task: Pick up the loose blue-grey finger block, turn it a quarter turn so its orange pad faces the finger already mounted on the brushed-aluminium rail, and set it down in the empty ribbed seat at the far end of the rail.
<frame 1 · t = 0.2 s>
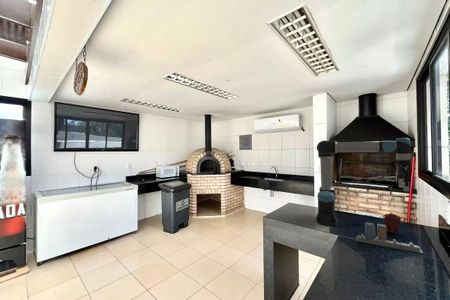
hand: (403, 189, 137), 28 cm above the counter, fingers open, 13 cm apart
mechanical component: (392, 232, 131), on the counter
finger: (382, 239, 121), on the counter
rail: (386, 245, 114), on the counter
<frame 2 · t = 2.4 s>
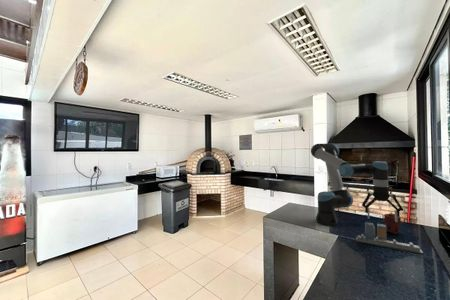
hand: (382, 219, 121), 13 cm above the counter, fingers open, 13 cm apart
nothing on the counter moved.
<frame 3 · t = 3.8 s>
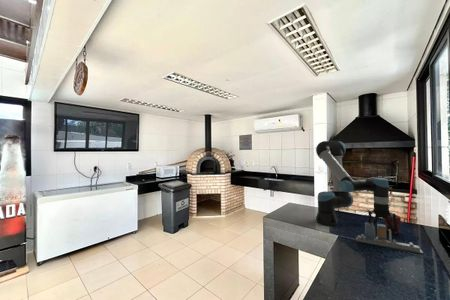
hand: (382, 239, 121), 0 cm above the counter, fingers open, 7 cm apart
nothing on the counter moved.
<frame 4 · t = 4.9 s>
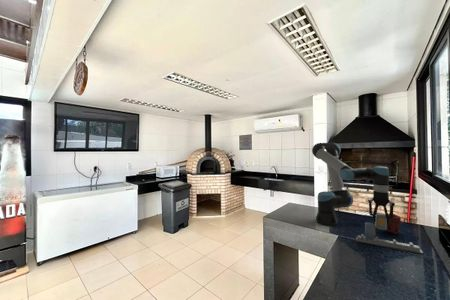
hand: (380, 227, 122), 7 cm above the counter, fingers closed on finger, 4 cm apart
finger: (380, 228, 122), point 7 cm above the counter, touching gripper
everything else where it was.
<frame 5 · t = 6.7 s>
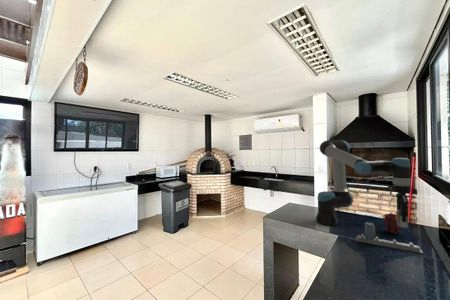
hand: (402, 225, 110), 13 cm above the counter, fingers closed on finger, 4 cm apart
finger: (402, 226, 110), point 13 cm above the counter, touching gripper
everything else where it was.
when the fingers open (3 cm above the counter, at t = 8.6 s): finger stays where it is, resting on rail.
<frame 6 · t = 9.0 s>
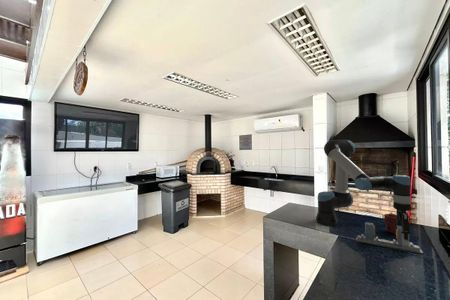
hand: (402, 240, 110), 4 cm above the counter, fingers open, 10 cm apart
finger: (402, 244, 110), point 2 cm above the counter, touching rail
everything else where it was.
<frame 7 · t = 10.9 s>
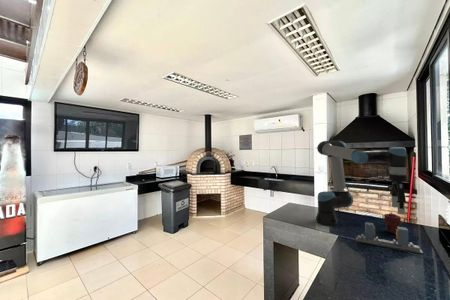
hand: (397, 210, 112), 21 cm above the counter, fingers open, 13 cm apart
nothing on the counter moved.
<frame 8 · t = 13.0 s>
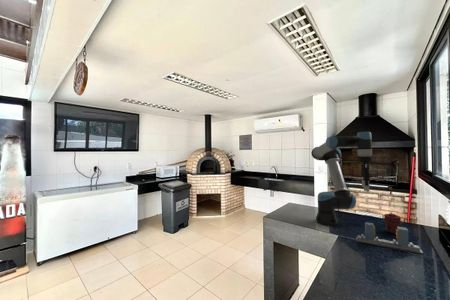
hand: (365, 188, 123), 32 cm above the counter, fingers open, 13 cm apart
nothing on the counter moved.
at the end: finger 0.0 cm from the target spot on the rail, point 2.5 cm above the rail's base; finger tilted 0°; the gripper is holding nothing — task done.
